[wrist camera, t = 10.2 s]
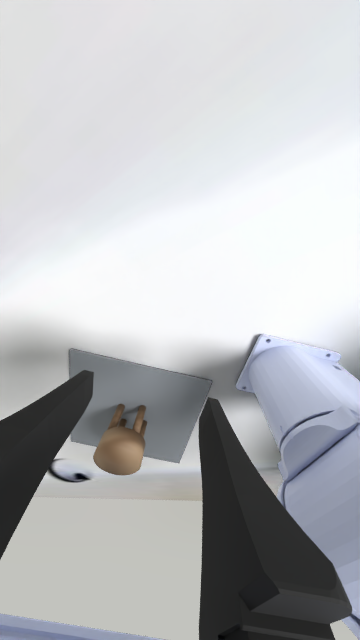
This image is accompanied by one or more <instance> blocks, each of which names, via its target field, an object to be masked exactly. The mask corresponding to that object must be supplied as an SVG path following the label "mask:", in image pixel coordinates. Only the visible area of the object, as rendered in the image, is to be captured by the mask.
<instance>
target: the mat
mask: <svg viewBox="0 0 360 640" xmlns="http://www.w3.org/2000/svg"><path fill="white" fill-rule="evenodd" d="M69 365H70V379H71V378H72V377H74V376H75V375H77V374H78V373H80V372H81V371H83V370H87V371H92V372H94V379H93V396H92V398H91V400H90V402H89V404H88V406H87V408H86V410H85V412H84V414H83V415H82V417H81V418H80V420H79V421H78V423H77V424H76V426H75V427H74V429H73V430H72V432H71V441H72V442H76V443H81V444H86V445H91V446H96V447H97V446H98V444H99V442H100V440H101V438H102V435H103V433H104V432H105V431H106V430H107V429H108V427H109V424H110V422H111V420H112V418H113V415H114V413H115V411H116V409H117V406H118V404H124V405H125V408H124V411H123V413H122V416H121V418H120V420H121V419H126V420H127V423H126V426H125V427H126V428H130V429H132V428H133V425H134V422H135V419H136V415H137V412H138V409H139V406H140V405H144V406H146V411H145V415H144V418H143V420H145V421H147V426H146V430H145V434H144V440H145V449H144V453H143V456H145V457H150V458H155V459H160V460H164V461H169V462H174V463H179V462H180V460H181V457H182V455H183V452H184V450H185V448H186V445H187V443H188V440H189V438H190V435H191V433H192V430H193V428H194V426H195V423H196V421H197V418H198V416H199V413H200V411H201V408H202V406H203V404H204V401H205V399H206V396H207V394H208V391H209V389H210V386H211V384H212V381H211V380H207V379H202V378H198V377H193V376H189V375H185V374H180V373H176V372H172V371H167V370H163V369H158V368H154V367H150V366H145V365H141V364H136V363H132V362H128V361H123V360H119V359H115V358H110V357H106V356H101V355H97V354H93V353H88V352H84V351H79V350H75V349H70V350H69ZM119 422H120V421H119ZM118 425H119V424H118ZM117 427H118V426H117Z"/></svg>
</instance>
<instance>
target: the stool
mask: <svg viewBox="0 0 360 640" xmlns="http://www.w3.org/2000/svg"><path fill="white" fill-rule="evenodd" d="M124 408H125V405H124V404H118V406H117V409H116V411H115V413H114V415H113V418H112V420H111V422H110V424H109V427H108V429H107V430H106V431H105V432H104V433H103V435H102V438H101V440H100V442H99V444H98V446H97V449H96V451H95V453H94V456H93V459H94V462H95V463H96V465H97V466H98V467H99V468H101V469H102V470H104V471H106V472H108V473H111V474H115V475H130V474H133V473H135V472H137V471H138V470H139V469H140V467H141V462H142V458H143V453H144V449H145V440H144V434H145V430H146V426H147V421H145V420H143V418H144V415H145V411H146V406H144V405H140V406H139V409H138V412H137V415H136V419H135V422H134V425H133V428H132V429H130V428H126V427H125V426H126V423H127V420H126V419H121V420H120V418H121V416H122V413H123V411H124ZM119 421H120V422H119ZM118 424H119V425H118ZM117 426H118V427H117Z"/></svg>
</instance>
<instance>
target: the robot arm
mask: <svg viewBox="0 0 360 640" xmlns="http://www.w3.org/2000/svg"><path fill="white" fill-rule="evenodd" d="M267 339H269V341H266V340H267ZM327 354H328V355H327ZM340 358H341V354H339V353H338V352H334V351H330V350H326V349H322V348H318V347H314V346H310V345H306V344H301V343H297V342H293V341H289V340H285V339H281V338H277V337H273V336H269V335H264V334H263V335H260V336H259V338H258V340H257V342H256V344H255V346H254V348H253V350H252V352H251V354H250V356H249V358H248V360H247V362H246V364H245V366H244V369H243V371H242V373H241V375H240V377H239V379H238V381H237V383H236V388H237V389H238V390H242V391H246V392H251V393H255V395H256V397H257V399H258V402H259V404H260V406H261V409H262V411H263V414H264V416H265V418H266V421H267V423H268V425H269V428H270V430H271V432H272V435H273V437H274V440H275V442H276V444H277V447H278V449H279V451H280V454H281V460H280V462H279V463H278V464H277V465H278V467H279V470H280V473H281V475H282V478H283V480H284V482H283V483H282V484H281V485H280V487H279V490H278V493H277V497H276V496H275V495H274V493H273V492H272V491H271V489H270V488H269V487H268V485H267V484H266V483H265V481H264V480H263V478H262V477H261V476H260V474H259V473H258V471H257V470H256V468H255V467H254V465H253V464H252V462H251V460H250V459H249V457H248V456H247V454H246V452H245V451H244V449H243V447H242V446H241V444H240V442H239V440H238V438H237V437H236V435H235V433H234V431H233V429H232V427H231V425H230V423H229V421H228V419H227V417H226V415H225V413H224V411H223V409H222V407H221V405H220V403H219V401H218V400H217V399H213V398H208V399H207V402H206V404H205V407H204V409H203V411H202V414H201V416H200V419H199V449H200V461H201V474H202V490H203V524H202V525H203V526H202V528H203V530H202V572H201V597H200V619H199V640H335V638H334V635H333V632H332V630H331V627H330V623H332V622H335V621H338V620H342V621H343V622H344V623H345V624H346V625H347V626H348V628H349V629H350V630H351V631H352V632H353V633H354V634H355V636H356V637H357V638H358V640H360V381H359V380H358V379H357V378H355V377H354V376H353V375H352V374H351V373H349V372H348V371H347V370H346V369H344V368H343V367H342V366H341V365H340V364H338V361H339V360H340ZM93 379H94V372H92V371H87V370H83V371H81V372H80V373H78V374H77V375H75V376H74V377H72V378H71V379H69V380H68V381H66V382H65V383H64V384H62V385H61V386H59V387H57V388H56V389H54V390H53V391H51V392H50V393H48V394H47V395H45V396H44V397H42V398H40V399H39V400H37V401H35V402H34V403H32V404H30V405H29V406H27V407H25V408H23V409H22V410H20V411H18V412H16V413H14V414H12V415H11V416H9V417H7V418H5V419H3V420H1V421H0V559H1V557H2V555H3V553H4V551H5V549H6V547H7V545H8V543H9V541H10V539H11V537H12V535H13V533H14V531H15V529H16V527H17V526H18V524H19V522H20V520H21V518H22V516H23V514H24V512H25V510H26V508H27V506H28V505H29V503H30V501H31V499H32V497H33V495H34V493H35V492H36V490H37V488H38V486H39V484H40V482H41V481H42V479H43V477H44V475H45V473H46V472H47V470H48V468H49V466H50V464H51V463H52V461H53V459H54V458H55V456H56V455H57V453H58V451H59V450H60V448H61V447H62V445H63V444H64V442H65V441H66V439H67V438H68V436H69V435H70V433H71V432H72V430H73V429H74V427H75V426H76V424H77V423H78V421H79V420H80V418H81V417H82V415H83V414H84V412H85V410H86V408H87V406H88V404H89V402H90V400H91V398H92V396H93ZM244 386H245V387H244ZM0 640H165V639H158V638H152V637H146V636H140V635H133V634H127V633H120V632H114V631H108V630H101V629H95V628H89V627H82V626H76V625H69V624H63V623H57V622H50V621H44V620H38V619H31V618H25V617H19V616H12V615H5V614H0Z"/></svg>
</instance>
